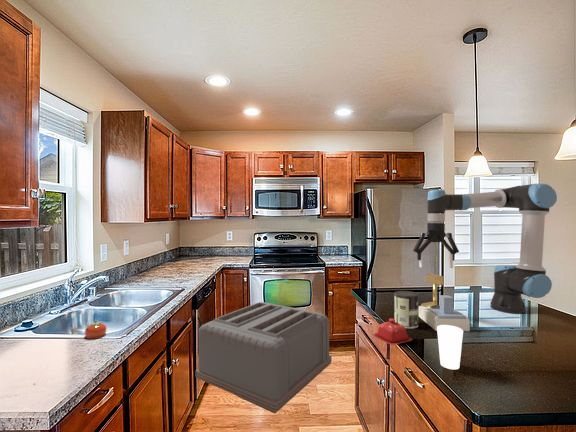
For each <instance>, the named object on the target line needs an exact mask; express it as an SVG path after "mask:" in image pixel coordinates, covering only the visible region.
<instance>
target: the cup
mask: <svg viewBox="0 0 576 432" xmlns="http://www.w3.org/2000/svg"><path fill="white" fill-rule="evenodd" d="M436 332H437V342H438V352H439V353H438V355H439V362H440V363H439V364H440V366H441V367H443V368H446V369H448V370H459V369H460V365H461V364H460V363H461V355H462V346H463V336H464V331H463V330H462V329H461V328H458V327H456V326H451V325H439V326H437V331H436Z"/></svg>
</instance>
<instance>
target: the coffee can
mask: <svg viewBox="0 0 576 432" xmlns="http://www.w3.org/2000/svg"><path fill="white" fill-rule="evenodd" d="M393 295H394V303H393V304H394V314H393V315H394V319H395V322H397V323H399V324H401V325H403V326H404V327H405V329H409V330H410V329H411V330H412V329H417V328H418V327H419V293H417V292H414V291H411V290H409V291H408V290H397V291H394V293H393Z"/></svg>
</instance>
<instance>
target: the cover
mask: <svg viewBox="0 0 576 432" xmlns="http://www.w3.org/2000/svg"><path fill="white" fill-rule="evenodd" d="M439 306H440V309H429V311H431V312H432V313H434V314H435V315H436V316H438V318H439V319H465V316H466V315H465V314H464V313H462V312H460V311H459V312H460V313H459V312H458V310H457V309H454V297H453V296H451V295H445V294H443V295H439ZM456 310H457V311H456ZM461 313H462V314H461ZM463 314H464V315H465V316H464V315H463Z"/></svg>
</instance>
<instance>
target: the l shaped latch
mask: <svg viewBox="0 0 576 432" xmlns="http://www.w3.org/2000/svg"><path fill="white" fill-rule="evenodd" d="M425 275H426V276H425V277H426V279H425V280H426V282H425V283H429V284H432V301H429V302H423V303H421V305H420V306H423V307H429V306H437V305H438V286H444V285H445V276H443V275H439V274H433V273H431V272H430V273H426V274H425Z"/></svg>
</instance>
